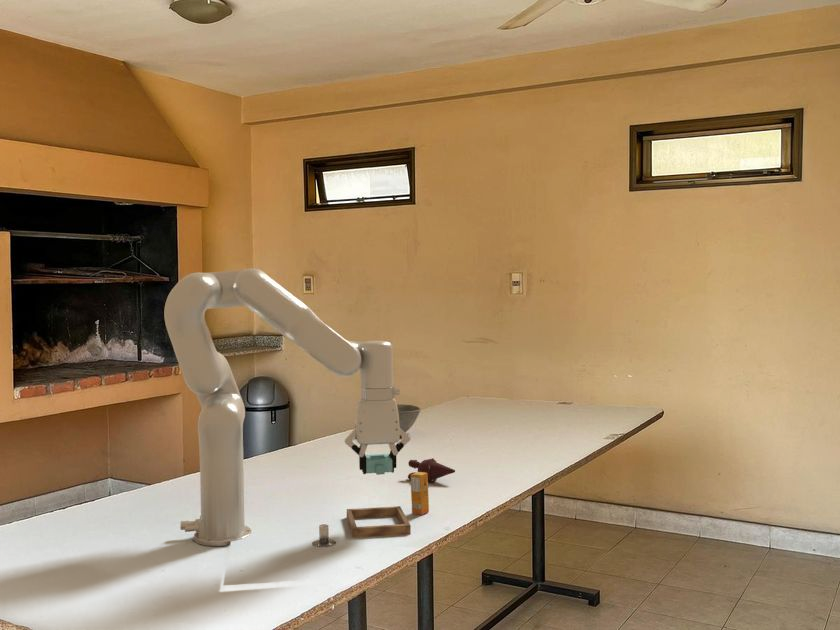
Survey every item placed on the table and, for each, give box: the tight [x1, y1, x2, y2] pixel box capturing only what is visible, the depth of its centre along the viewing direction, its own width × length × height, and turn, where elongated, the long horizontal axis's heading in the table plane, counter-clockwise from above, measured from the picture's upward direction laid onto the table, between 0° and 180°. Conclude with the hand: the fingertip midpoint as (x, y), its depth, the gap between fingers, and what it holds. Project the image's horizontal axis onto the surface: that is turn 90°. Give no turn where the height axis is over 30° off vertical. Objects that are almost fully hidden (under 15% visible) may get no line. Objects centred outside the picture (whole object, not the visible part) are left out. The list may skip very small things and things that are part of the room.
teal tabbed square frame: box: [365, 453, 392, 476], centre depth 185 cm, size 10×6×3 cm, turn 10°
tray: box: [346, 505, 412, 539], centre depth 186 cm, size 13×15×3 cm
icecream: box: [407, 457, 456, 483], centre depth 229 cm, size 7×7×15 cm
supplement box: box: [410, 471, 430, 516], centre depth 198 cm, size 3×3×10 cm
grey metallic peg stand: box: [311, 523, 337, 548], centre depth 173 cm, size 5×5×5 cm
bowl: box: [397, 403, 422, 433], centre depth 297 cm, size 19×19×10 cm
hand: (378, 471), depth 185 cm, fingers closed on teal tabbed square frame, 5 cm apart
